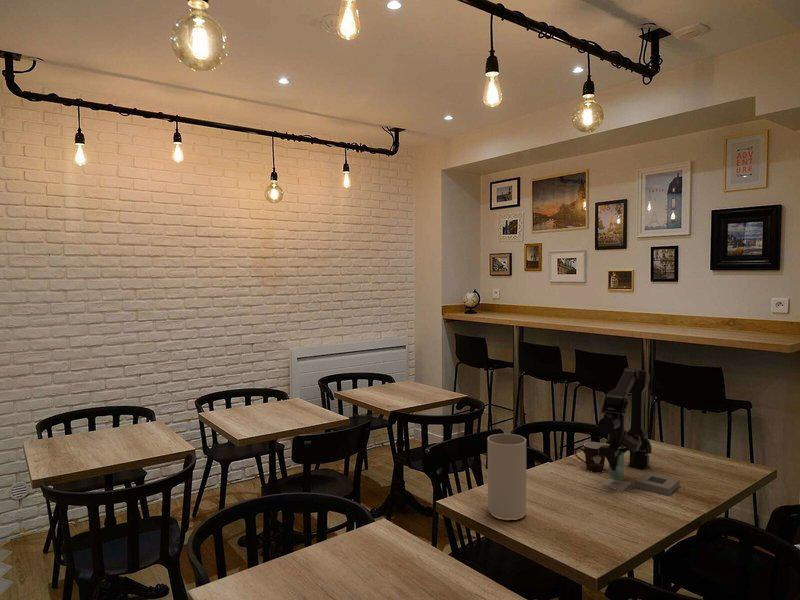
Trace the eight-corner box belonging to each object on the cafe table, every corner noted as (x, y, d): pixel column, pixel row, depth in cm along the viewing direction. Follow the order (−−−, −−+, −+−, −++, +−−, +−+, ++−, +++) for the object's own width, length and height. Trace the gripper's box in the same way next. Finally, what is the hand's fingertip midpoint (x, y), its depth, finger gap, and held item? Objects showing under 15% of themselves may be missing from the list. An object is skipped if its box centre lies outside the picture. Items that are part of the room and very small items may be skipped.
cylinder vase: (481, 515, 180) (480, 440, 179) (498, 502, 190) (498, 431, 189) (516, 525, 173) (515, 447, 172) (532, 511, 183) (532, 437, 182)
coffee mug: (608, 468, 222) (608, 444, 222) (603, 475, 215) (603, 449, 215) (579, 463, 228) (579, 439, 228) (573, 469, 221) (573, 445, 221)
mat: (601, 485, 205) (601, 483, 205) (609, 479, 211) (609, 478, 210) (622, 490, 199) (622, 489, 199) (630, 484, 205) (630, 483, 205)
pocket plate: (634, 487, 202) (634, 480, 202) (646, 478, 211) (646, 471, 211) (669, 495, 194) (669, 488, 194) (679, 486, 203) (679, 479, 203)
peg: (608, 478, 205) (608, 452, 204) (613, 475, 208) (613, 449, 207) (619, 481, 202) (619, 454, 202) (623, 478, 205) (623, 451, 204)
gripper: (628, 437, 192) (628, 481, 192) (647, 426, 205) (647, 467, 206) (597, 431, 199) (597, 473, 200) (617, 421, 213) (617, 460, 214)
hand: (616, 468), depth 205 cm, fingers closed on peg, 4 cm apart
